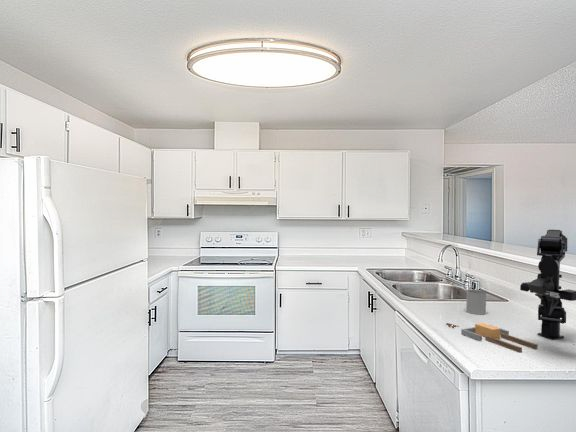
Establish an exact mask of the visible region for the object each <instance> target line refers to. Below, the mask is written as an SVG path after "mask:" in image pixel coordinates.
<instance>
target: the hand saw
mask: <svg viewBox="0 0 576 432" xmlns="http://www.w3.org/2000/svg"><path fill="white" fill-rule="evenodd" d="M447 325H448V326H447ZM452 325H453V326H452ZM445 326H447V328H451V327H452V328H451V329H454V327H455V328H457V327H458V328H459V327H460V326H459V325H455V324H452V323H448V322H445Z"/></svg>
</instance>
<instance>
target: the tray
mask: <svg viewBox="0 0 576 432" xmlns="http://www.w3.org/2000/svg"><path fill="white" fill-rule="evenodd" d="M490 325H491V326H494V325H492V324H490ZM494 327H497V328H500V335H501V333H504V334H507V335H510V334H509V333H510V330H507V329H503V328H501V327H498V326H494ZM460 334H461V335H462V336H465V337H468V338H471V339H473V340H475V341H479V342H482V339H483V338H482V337H483V336H481V335H478V334H476V333H475V326H474V327H467V328H462V329H461V330H460Z"/></svg>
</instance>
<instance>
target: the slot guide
mask: <svg viewBox="0 0 576 432" xmlns="http://www.w3.org/2000/svg"><path fill="white" fill-rule="evenodd" d="M484 338H485V339H484V340H485V341H487V342H490V343H492V344H494V345H498V346H501V347H504V348H506V349H509V350H511V351H515V352H517V353H522V352H523V347H522V346H525V347H527V348H531V349H533V350H537V349H538V344H536V343H533V342H531V341H527V340H524V339H522V338H519V337H517V336H513V335H510V334H509V335H507V334H504V333H501V334H500V339H496V338H493V337H490V336H485V337H484ZM501 339H504V340H501ZM505 340H508V341H510V342H512V343H516V344H519V345H522V346H518V345H515V344H512V343H510V342H507V341H505Z"/></svg>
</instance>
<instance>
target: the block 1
mask: <svg viewBox="0 0 576 432" xmlns="http://www.w3.org/2000/svg"><path fill="white" fill-rule="evenodd" d="M491 325H492V324H487V323H483V322H479V323H475V325H474V327H475V333H476V334H478V335H481V336H482V337H483V338H485V337H484V327H486V326H491Z"/></svg>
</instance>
